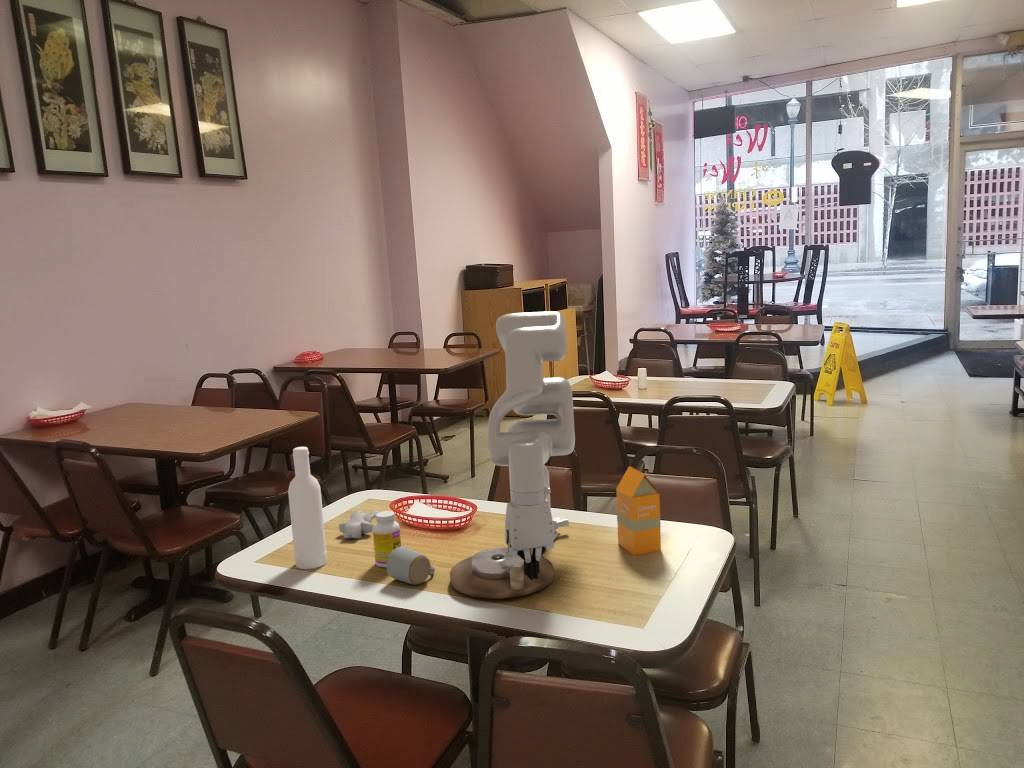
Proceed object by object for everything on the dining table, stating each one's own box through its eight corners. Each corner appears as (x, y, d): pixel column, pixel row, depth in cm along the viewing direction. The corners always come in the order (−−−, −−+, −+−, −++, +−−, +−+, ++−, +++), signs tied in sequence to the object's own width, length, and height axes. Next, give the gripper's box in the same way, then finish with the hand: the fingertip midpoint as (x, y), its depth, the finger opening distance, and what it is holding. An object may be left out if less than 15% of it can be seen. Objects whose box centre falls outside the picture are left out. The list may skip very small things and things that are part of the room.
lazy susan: (531, 550, 194) (530, 529, 193) (570, 585, 172) (569, 562, 171) (438, 567, 186) (437, 545, 185) (467, 606, 164) (465, 582, 163)
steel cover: (515, 556, 186) (514, 544, 186) (531, 574, 175) (530, 561, 174) (466, 565, 183) (465, 552, 182) (480, 584, 171) (479, 570, 171)
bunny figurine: (332, 527, 211) (351, 504, 225) (335, 544, 212) (353, 520, 226) (365, 527, 209) (382, 504, 223) (368, 544, 210) (384, 520, 225)
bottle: (333, 562, 196) (323, 446, 191) (306, 572, 190) (294, 453, 185) (316, 555, 201) (305, 443, 196) (289, 565, 195) (277, 449, 191)
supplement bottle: (396, 568, 189) (392, 518, 187) (371, 568, 191) (367, 518, 189) (406, 558, 196) (402, 509, 194) (381, 557, 197) (377, 509, 195)
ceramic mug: (411, 590, 176) (409, 558, 175) (386, 582, 181) (384, 551, 180) (443, 575, 184) (441, 544, 183) (419, 568, 189) (417, 538, 188)
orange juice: (644, 538, 201) (642, 463, 198) (661, 550, 192) (659, 472, 189) (617, 543, 198) (614, 467, 195) (633, 555, 190) (630, 476, 187)
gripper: (552, 486, 173) (556, 565, 176) (489, 497, 168) (494, 577, 171) (566, 495, 166) (570, 576, 169) (501, 506, 161) (506, 590, 164)
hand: (532, 576), depth 170 cm, fingers closed
